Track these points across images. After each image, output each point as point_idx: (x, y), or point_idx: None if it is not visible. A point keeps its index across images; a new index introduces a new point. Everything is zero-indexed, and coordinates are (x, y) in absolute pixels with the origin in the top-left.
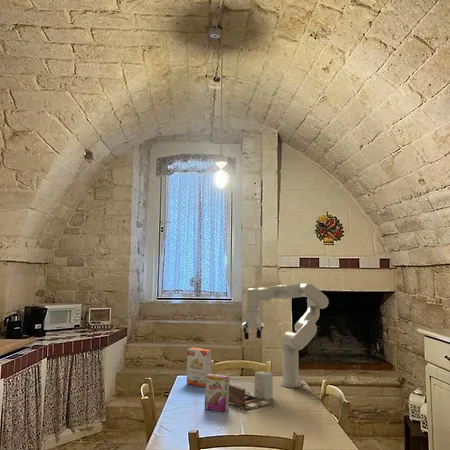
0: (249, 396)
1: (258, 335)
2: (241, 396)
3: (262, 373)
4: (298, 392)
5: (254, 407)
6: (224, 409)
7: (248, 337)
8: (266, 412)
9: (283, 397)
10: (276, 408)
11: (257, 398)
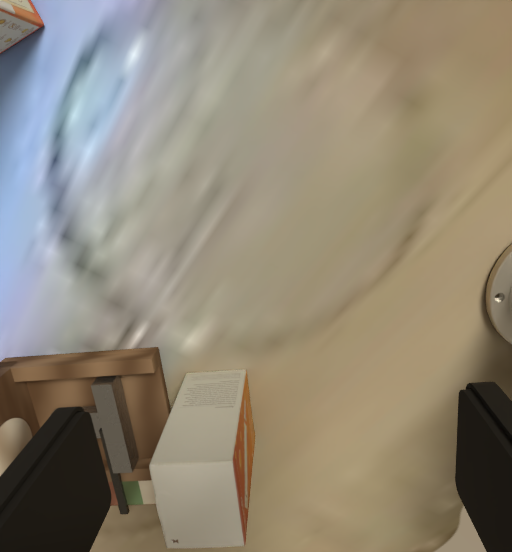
0: (103, 443)
1: (480, 494)
2: None
3: (180, 514)
4: None
5: None
6: None
7: (88, 540)
8: (112, 547)
9: (317, 446)
10: None
11: (119, 490)
